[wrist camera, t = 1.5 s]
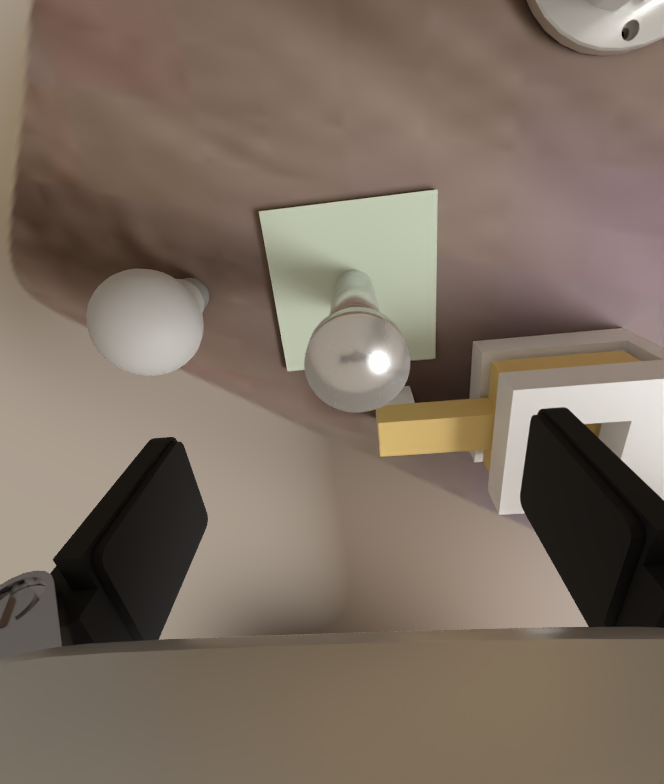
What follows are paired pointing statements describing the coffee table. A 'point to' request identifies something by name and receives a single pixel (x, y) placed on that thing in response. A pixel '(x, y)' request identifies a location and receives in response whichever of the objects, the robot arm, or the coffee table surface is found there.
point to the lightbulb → (147, 320)
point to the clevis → (541, 405)
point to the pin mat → (354, 264)
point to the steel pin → (356, 350)
